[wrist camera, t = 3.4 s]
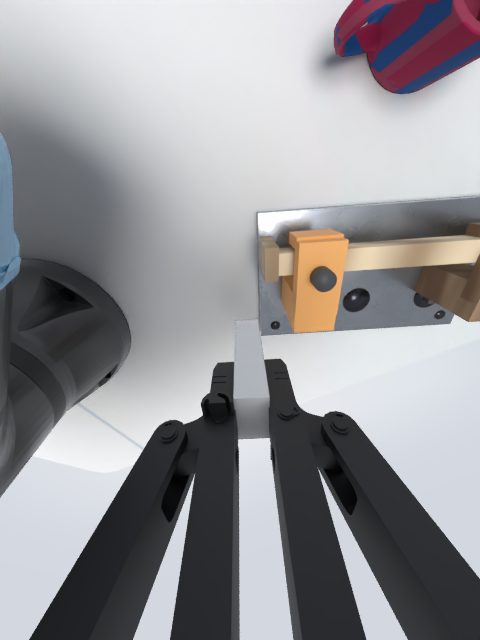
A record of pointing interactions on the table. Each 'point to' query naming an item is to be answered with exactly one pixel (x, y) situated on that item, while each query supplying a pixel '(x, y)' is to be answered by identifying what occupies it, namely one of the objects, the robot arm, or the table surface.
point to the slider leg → (314, 279)
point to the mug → (410, 39)
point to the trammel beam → (431, 253)
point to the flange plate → (368, 285)
